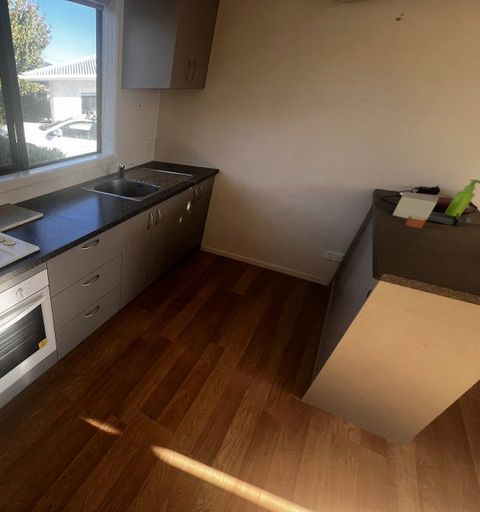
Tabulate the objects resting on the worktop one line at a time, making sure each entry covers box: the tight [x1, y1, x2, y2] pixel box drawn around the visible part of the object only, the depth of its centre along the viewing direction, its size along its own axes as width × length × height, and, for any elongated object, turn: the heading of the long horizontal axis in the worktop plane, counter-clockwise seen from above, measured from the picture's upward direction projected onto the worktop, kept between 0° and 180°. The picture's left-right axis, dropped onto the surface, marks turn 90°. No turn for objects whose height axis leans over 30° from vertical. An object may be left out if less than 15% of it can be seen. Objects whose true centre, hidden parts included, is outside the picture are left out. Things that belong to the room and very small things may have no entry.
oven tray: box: [426, 211, 472, 227], centre depth 149 cm, size 16×14×3 cm
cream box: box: [392, 191, 440, 219], centre depth 156 cm, size 13×14×11 cm
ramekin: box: [404, 216, 428, 229], centre depth 146 cm, size 6×6×4 cm
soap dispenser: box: [443, 179, 480, 217], centre depth 153 cm, size 6×7×20 cm
